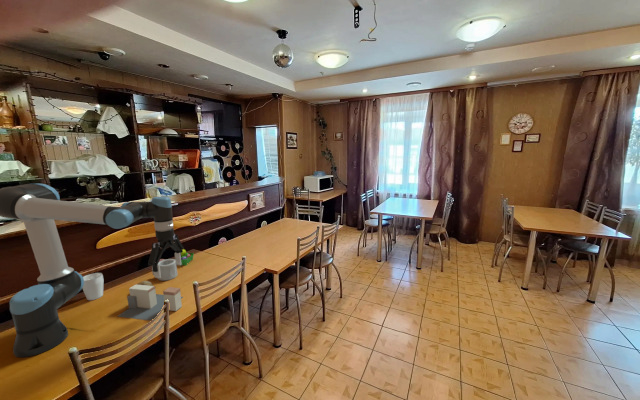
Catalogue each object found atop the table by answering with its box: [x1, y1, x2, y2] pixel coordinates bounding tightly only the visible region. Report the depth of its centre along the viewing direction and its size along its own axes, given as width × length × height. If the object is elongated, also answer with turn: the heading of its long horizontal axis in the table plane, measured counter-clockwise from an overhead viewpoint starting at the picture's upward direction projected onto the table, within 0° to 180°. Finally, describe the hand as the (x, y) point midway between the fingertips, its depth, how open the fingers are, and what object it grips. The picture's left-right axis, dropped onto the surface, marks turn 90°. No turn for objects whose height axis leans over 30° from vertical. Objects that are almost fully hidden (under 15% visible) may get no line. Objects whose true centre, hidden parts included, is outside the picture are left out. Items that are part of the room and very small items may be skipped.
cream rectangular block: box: [126, 283, 157, 309], centre depth 127 cm, size 6×12×10 cm, turn 81°
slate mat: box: [116, 293, 184, 322], centre depth 128 cm, size 20×20×1 cm
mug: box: [151, 258, 178, 282], centre depth 157 cm, size 14×11×10 cm
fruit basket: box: [180, 248, 195, 266], centre depth 178 cm, size 11×9×11 cm
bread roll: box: [137, 280, 154, 286], centre depth 141 cm, size 10×10×8 cm
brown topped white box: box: [162, 286, 183, 312], centre depth 125 cm, size 4×6×10 cm
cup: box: [82, 272, 105, 301], centre depth 135 cm, size 9×9×12 cm
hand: (168, 270), depth 122 cm, fingers open, 13 cm apart
